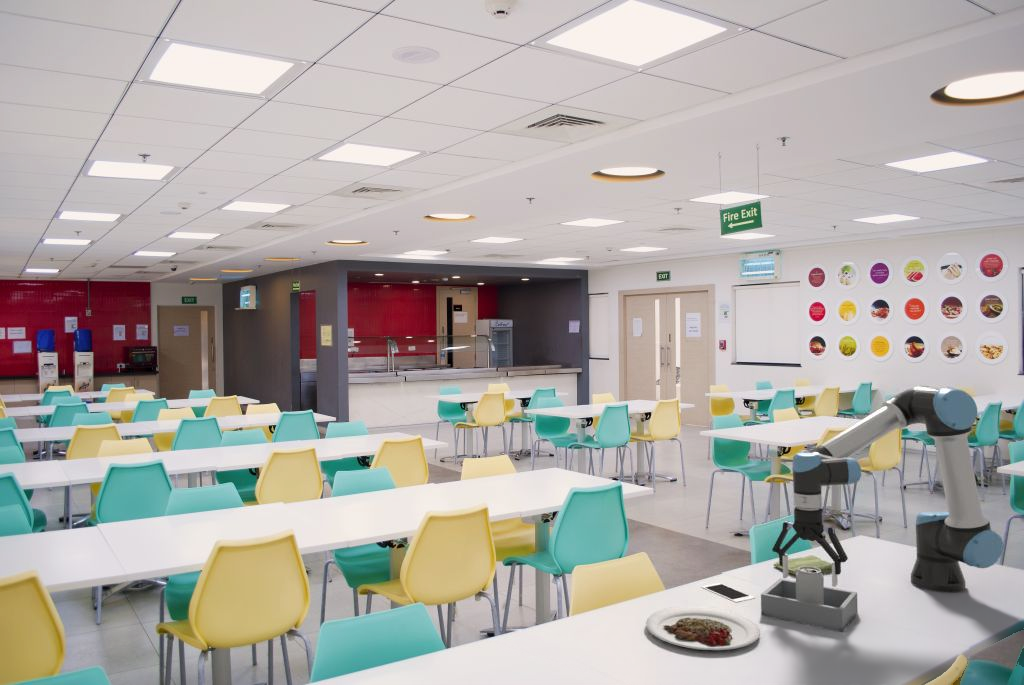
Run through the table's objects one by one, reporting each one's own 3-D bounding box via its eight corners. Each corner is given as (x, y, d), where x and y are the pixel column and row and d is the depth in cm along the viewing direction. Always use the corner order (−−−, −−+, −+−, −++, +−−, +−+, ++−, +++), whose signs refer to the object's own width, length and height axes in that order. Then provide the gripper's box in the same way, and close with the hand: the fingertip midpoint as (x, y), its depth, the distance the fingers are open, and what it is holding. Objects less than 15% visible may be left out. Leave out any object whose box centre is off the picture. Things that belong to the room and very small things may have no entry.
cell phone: (735, 603, 225) (735, 601, 225) (700, 588, 240) (700, 586, 240) (755, 599, 228) (755, 597, 228) (719, 584, 243) (719, 582, 243)
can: (826, 616, 210) (826, 573, 210) (798, 614, 212) (798, 572, 212) (821, 606, 218) (820, 565, 218) (793, 605, 219) (793, 564, 219)
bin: (857, 613, 215) (857, 592, 215) (842, 632, 201) (842, 610, 201) (780, 598, 228) (779, 578, 228) (761, 615, 215) (760, 594, 215)
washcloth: (771, 568, 259) (771, 558, 259) (813, 562, 265) (813, 553, 265) (796, 579, 247) (796, 569, 247) (840, 573, 252) (840, 564, 252)
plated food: (684, 605, 224) (684, 593, 224) (780, 631, 203) (780, 619, 203) (624, 633, 203) (624, 621, 203) (723, 666, 182) (723, 653, 182)
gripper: (760, 505, 219) (762, 577, 219) (851, 515, 204) (853, 592, 204) (768, 500, 225) (770, 570, 225) (857, 509, 210) (859, 585, 210)
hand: (809, 581), depth 215 cm, fingers open, 13 cm apart
